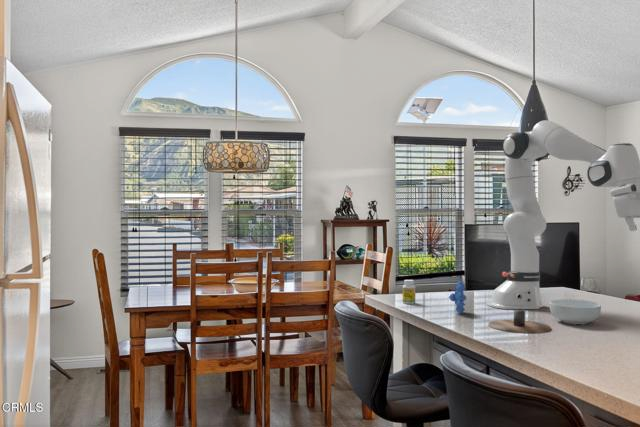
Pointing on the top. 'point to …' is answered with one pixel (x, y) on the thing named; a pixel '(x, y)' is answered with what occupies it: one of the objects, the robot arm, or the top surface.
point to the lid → (519, 324)
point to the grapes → (459, 297)
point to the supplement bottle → (409, 292)
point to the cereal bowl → (575, 310)
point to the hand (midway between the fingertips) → (639, 230)
